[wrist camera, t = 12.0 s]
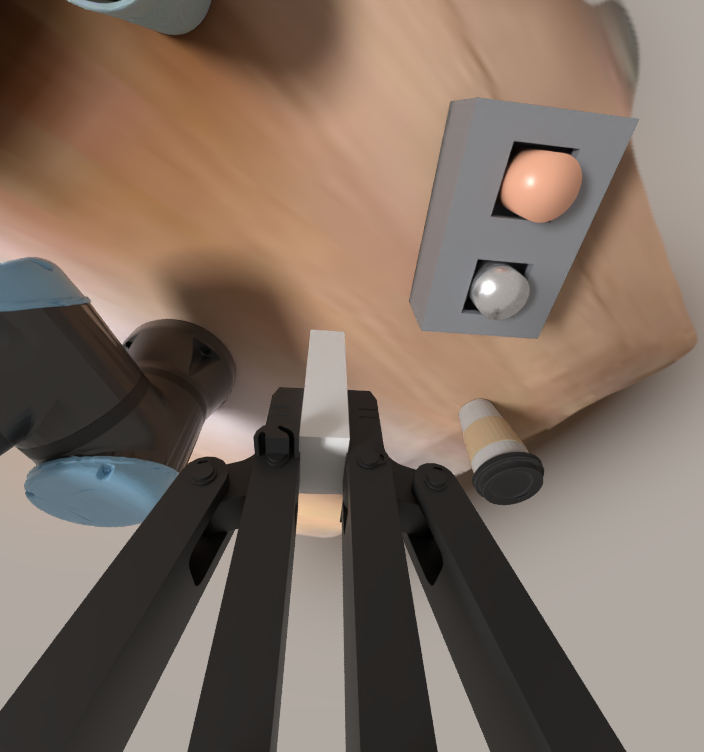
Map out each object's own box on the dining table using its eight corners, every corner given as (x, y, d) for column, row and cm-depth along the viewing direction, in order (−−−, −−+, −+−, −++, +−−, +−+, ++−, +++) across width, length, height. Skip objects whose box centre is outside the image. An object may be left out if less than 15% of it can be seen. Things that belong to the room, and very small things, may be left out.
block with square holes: (510, 309, 48) (537, 338, 42) (409, 301, 47) (421, 330, 40) (584, 119, 36) (639, 118, 29) (450, 101, 35) (477, 97, 28)
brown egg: (529, 209, 37) (564, 225, 31) (481, 204, 37) (508, 219, 31) (550, 150, 34) (593, 156, 28) (498, 144, 33) (532, 149, 28)
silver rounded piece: (494, 295, 44) (518, 321, 38) (453, 292, 43) (471, 318, 37) (509, 252, 41) (537, 274, 35) (465, 248, 40) (487, 270, 34)
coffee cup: (483, 437, 63) (519, 513, 50) (437, 424, 60) (463, 501, 48) (516, 398, 58) (565, 472, 45) (467, 382, 55) (504, 456, 43)
